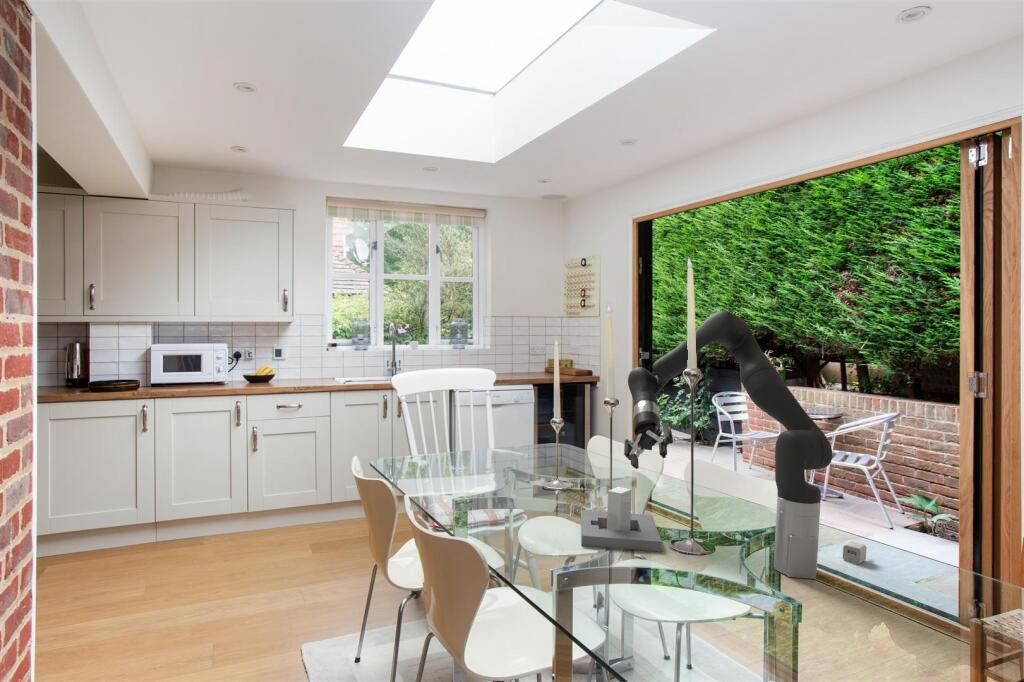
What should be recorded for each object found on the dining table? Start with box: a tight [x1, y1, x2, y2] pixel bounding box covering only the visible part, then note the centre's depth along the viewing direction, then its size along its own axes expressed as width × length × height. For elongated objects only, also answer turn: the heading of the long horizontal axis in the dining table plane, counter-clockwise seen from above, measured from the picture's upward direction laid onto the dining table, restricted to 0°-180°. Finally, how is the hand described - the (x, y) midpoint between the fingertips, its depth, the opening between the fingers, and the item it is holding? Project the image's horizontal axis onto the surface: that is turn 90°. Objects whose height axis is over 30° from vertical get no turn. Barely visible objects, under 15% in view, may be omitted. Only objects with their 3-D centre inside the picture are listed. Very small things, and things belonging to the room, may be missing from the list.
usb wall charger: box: [842, 541, 867, 565], centre depth 154 cm, size 4×7×4 cm, turn 134°
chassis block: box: [580, 509, 663, 553], centre depth 166 cm, size 22×20×2 cm
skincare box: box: [606, 486, 632, 532], centre depth 166 cm, size 6×4×12 cm
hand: (649, 461), depth 167 cm, fingers open, 8 cm apart
